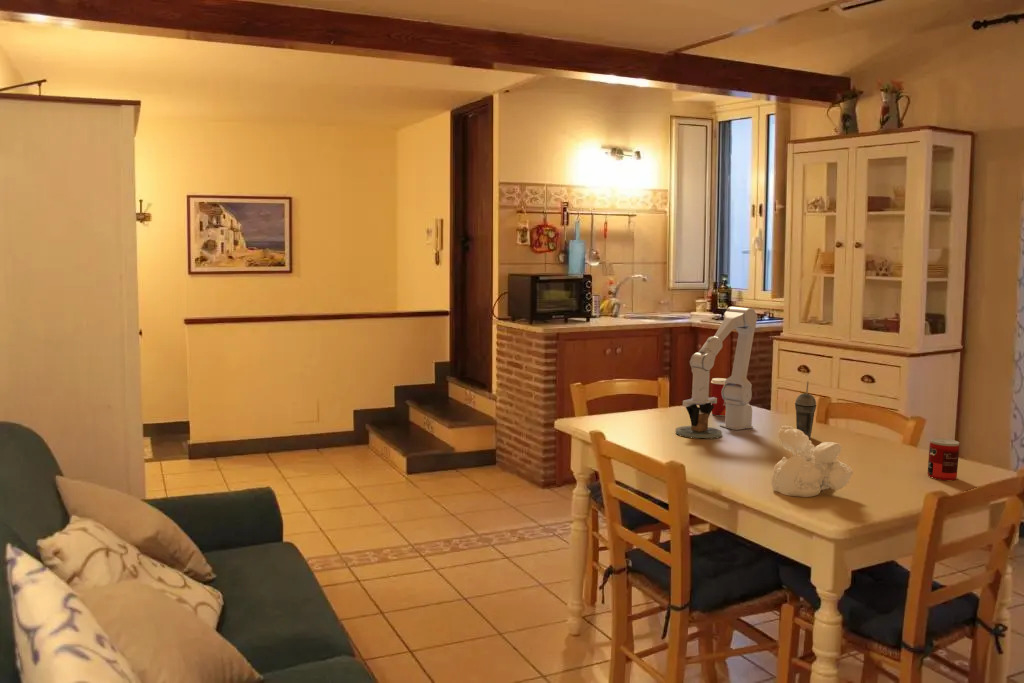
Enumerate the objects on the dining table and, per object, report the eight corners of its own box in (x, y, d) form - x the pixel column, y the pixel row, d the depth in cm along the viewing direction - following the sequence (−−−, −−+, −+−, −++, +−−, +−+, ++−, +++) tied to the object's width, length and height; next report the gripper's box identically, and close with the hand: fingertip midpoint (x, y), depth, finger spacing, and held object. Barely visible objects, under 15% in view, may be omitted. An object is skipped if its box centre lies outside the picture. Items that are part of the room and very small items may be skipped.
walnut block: (699, 428, 323) (700, 411, 323) (707, 430, 320) (708, 413, 319) (691, 429, 321) (692, 412, 320) (699, 431, 318) (700, 414, 317)
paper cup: (731, 416, 352) (732, 381, 351) (711, 416, 353) (712, 380, 351) (726, 412, 360) (728, 377, 359) (707, 412, 360) (708, 377, 359)
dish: (699, 427, 332) (699, 424, 332) (731, 436, 319) (731, 432, 318) (666, 431, 323) (666, 428, 323) (697, 440, 310) (697, 437, 310)
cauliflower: (748, 458, 250) (792, 414, 258) (768, 510, 259) (809, 467, 267) (805, 477, 235) (850, 430, 243) (824, 532, 244) (866, 486, 252)
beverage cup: (812, 435, 323) (815, 379, 320) (816, 439, 315) (820, 383, 313) (790, 434, 323) (794, 378, 321) (795, 439, 316) (798, 382, 314)
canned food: (931, 472, 275) (933, 436, 273) (959, 477, 270) (962, 441, 268) (923, 477, 269) (926, 440, 267) (953, 482, 264) (956, 445, 262)
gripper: (693, 390, 312) (691, 429, 313) (723, 387, 319) (722, 425, 321) (679, 387, 318) (677, 425, 319) (709, 384, 325) (707, 421, 327)
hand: (698, 425), depth 321 cm, fingers closed on walnut block, 4 cm apart
